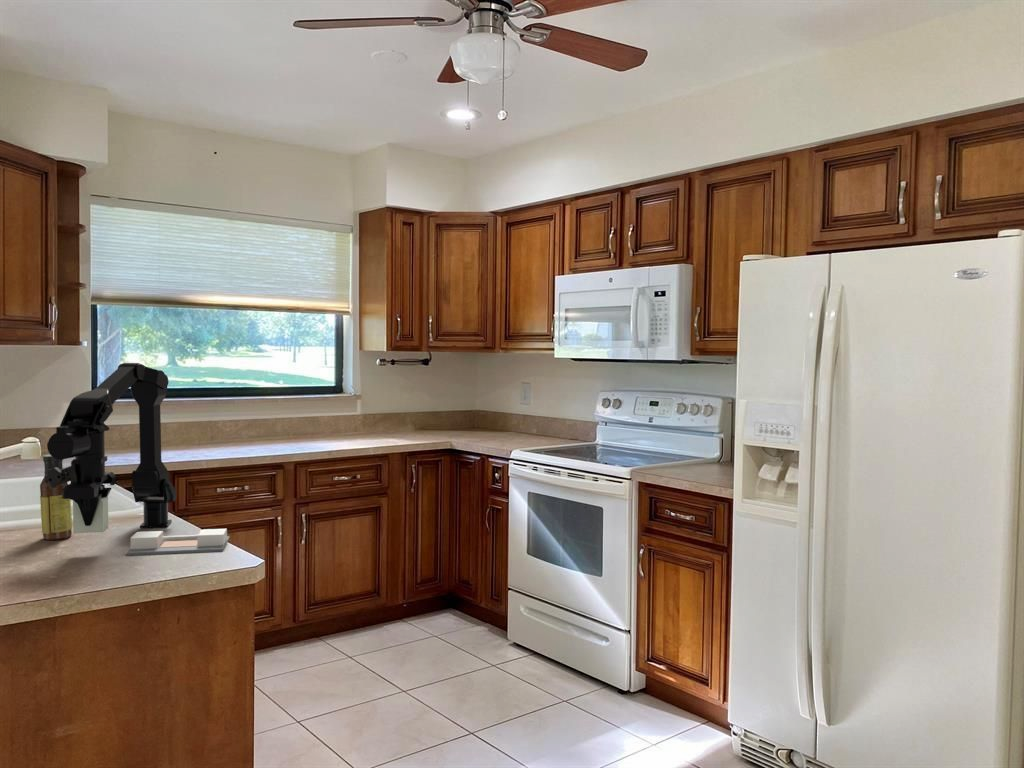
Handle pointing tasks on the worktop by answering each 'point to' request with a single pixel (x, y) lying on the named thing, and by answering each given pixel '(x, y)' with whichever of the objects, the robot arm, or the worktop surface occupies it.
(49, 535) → the sauce bottle
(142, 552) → the rail board
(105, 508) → the block
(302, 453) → the worktop surface
